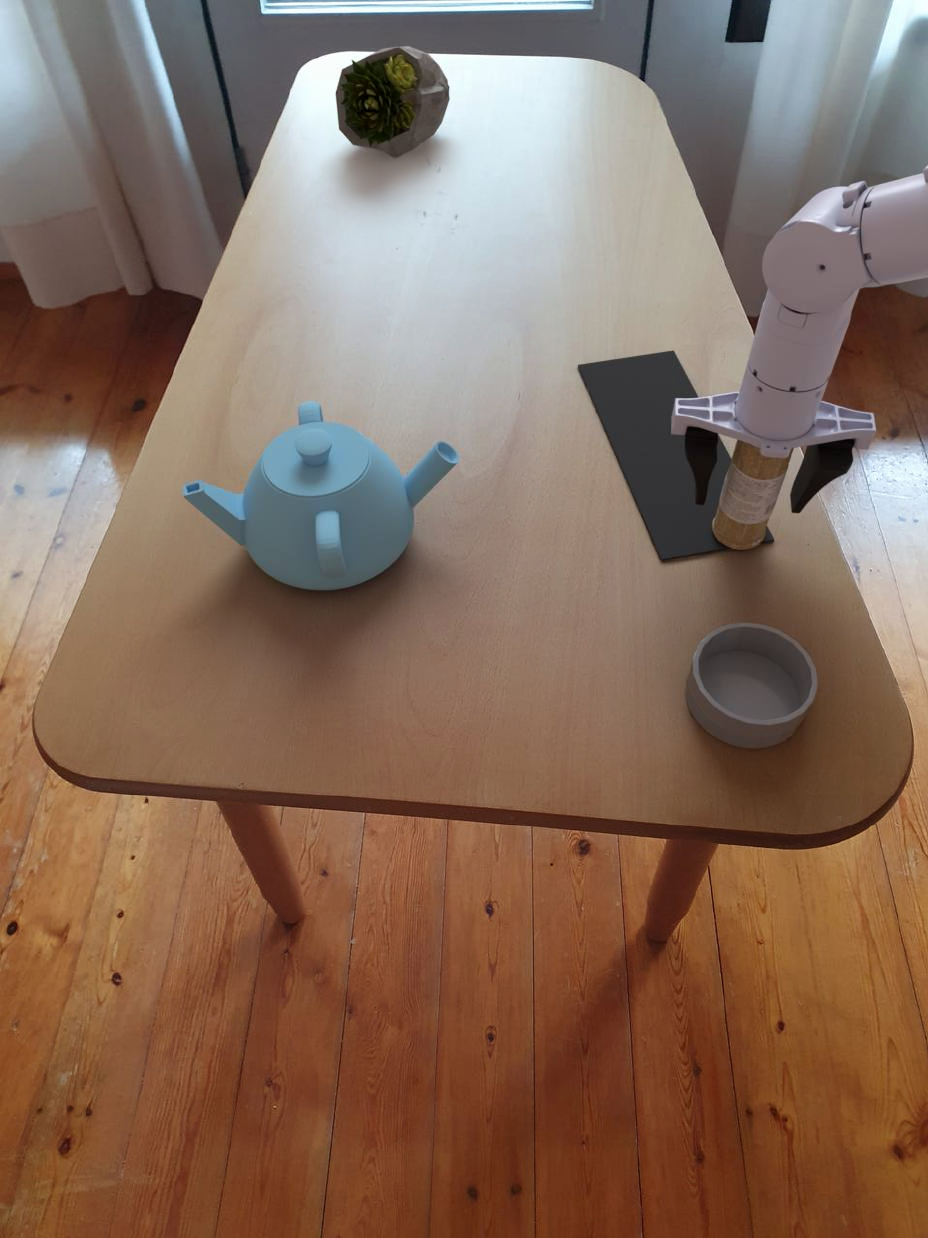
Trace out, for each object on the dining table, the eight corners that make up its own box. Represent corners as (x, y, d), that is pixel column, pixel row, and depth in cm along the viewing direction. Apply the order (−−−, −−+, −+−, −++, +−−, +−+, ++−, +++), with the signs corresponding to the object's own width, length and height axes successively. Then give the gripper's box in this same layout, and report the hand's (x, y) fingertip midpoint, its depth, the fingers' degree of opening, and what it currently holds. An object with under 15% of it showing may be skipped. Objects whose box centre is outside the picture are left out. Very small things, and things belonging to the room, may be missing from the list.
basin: (799, 654, 73) (811, 628, 70) (809, 754, 68) (823, 730, 65) (684, 644, 74) (692, 617, 71) (686, 742, 69) (694, 718, 66)
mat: (773, 542, 80) (774, 539, 80) (661, 561, 79) (661, 559, 79) (673, 352, 95) (673, 350, 95) (577, 366, 94) (577, 364, 94)
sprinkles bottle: (735, 504, 82) (772, 382, 72) (776, 535, 80) (820, 413, 69) (698, 529, 81) (731, 408, 70) (739, 561, 79) (779, 440, 68)
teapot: (373, 641, 75) (357, 548, 66) (202, 563, 80) (165, 467, 71) (467, 515, 83) (464, 416, 74) (305, 451, 88) (283, 352, 79)
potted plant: (473, 104, 120) (435, 126, 109) (400, 165, 127) (358, 191, 116) (416, 13, 116) (371, 26, 105) (345, 82, 123) (295, 100, 112)
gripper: (684, 395, 65) (656, 528, 76) (903, 411, 63) (842, 544, 74) (685, 331, 69) (658, 466, 80) (890, 345, 67) (834, 481, 78)
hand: (747, 500), depth 77 cm, fingers open, 7 cm apart
